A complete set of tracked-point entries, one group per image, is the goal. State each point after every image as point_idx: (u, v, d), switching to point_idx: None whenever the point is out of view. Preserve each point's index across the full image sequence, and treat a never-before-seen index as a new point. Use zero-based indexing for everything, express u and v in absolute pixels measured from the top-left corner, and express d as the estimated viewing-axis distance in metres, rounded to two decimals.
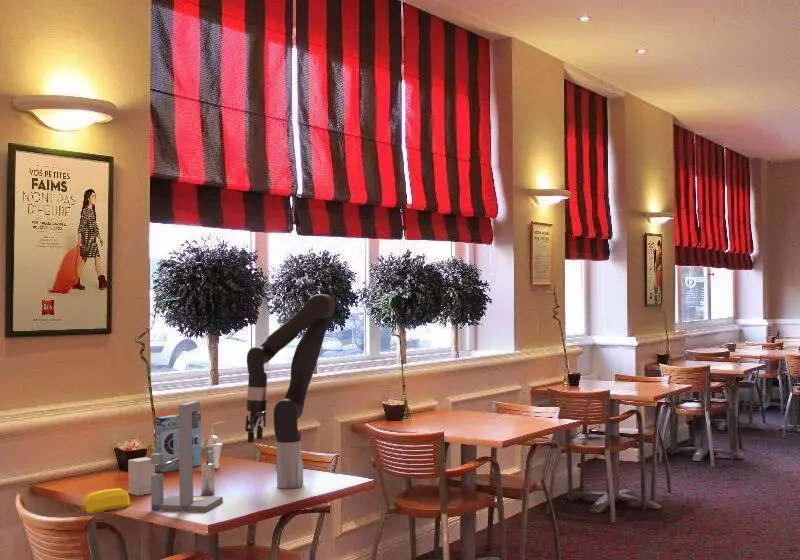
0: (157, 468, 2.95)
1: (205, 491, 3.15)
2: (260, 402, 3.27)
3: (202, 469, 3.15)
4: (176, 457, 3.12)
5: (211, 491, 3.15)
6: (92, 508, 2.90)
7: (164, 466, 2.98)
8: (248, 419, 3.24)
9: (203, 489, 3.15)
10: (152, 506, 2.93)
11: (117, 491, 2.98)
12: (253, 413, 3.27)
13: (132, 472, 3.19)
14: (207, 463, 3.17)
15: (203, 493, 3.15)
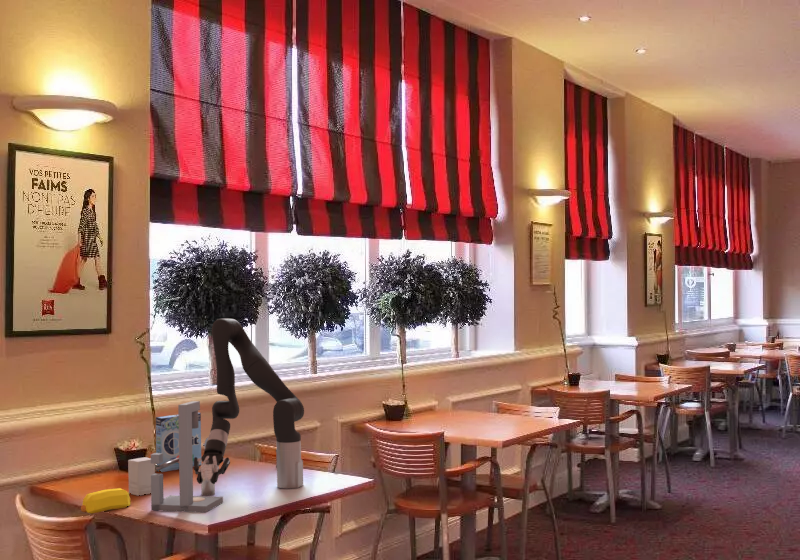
0: (157, 468, 2.95)
1: (205, 491, 3.15)
2: (207, 442, 3.25)
3: (202, 469, 3.15)
4: (176, 457, 3.12)
5: (211, 491, 3.15)
6: (92, 508, 2.90)
7: (164, 466, 2.98)
8: None
9: (203, 489, 3.15)
10: (152, 506, 2.93)
11: (117, 491, 2.98)
12: None
13: (132, 472, 3.19)
14: (207, 463, 3.17)
15: (203, 493, 3.15)
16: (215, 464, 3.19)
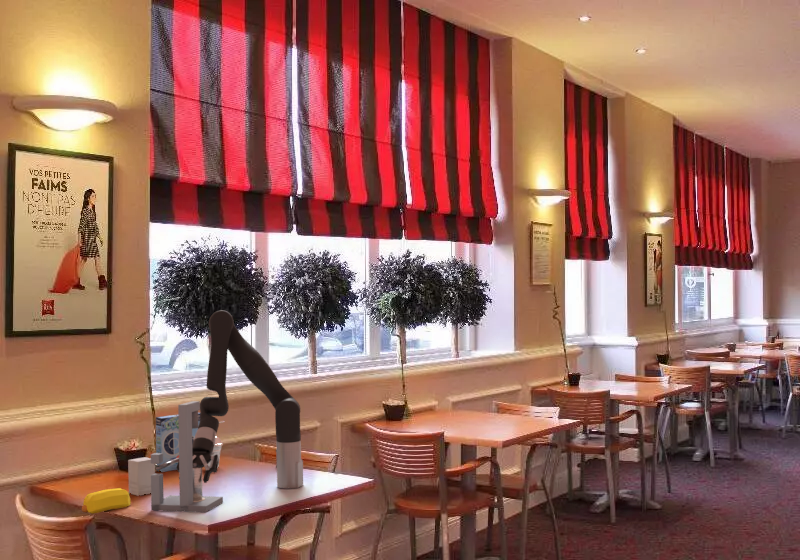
0: (157, 468, 2.95)
1: None
2: (194, 441, 3.08)
3: None
4: (176, 457, 3.12)
5: (198, 496, 2.98)
6: (93, 508, 2.90)
7: (164, 466, 2.98)
8: None
9: None
10: (152, 506, 2.93)
11: (118, 491, 2.98)
12: None
13: (132, 472, 3.19)
14: (194, 466, 2.99)
15: None
16: (205, 463, 3.01)
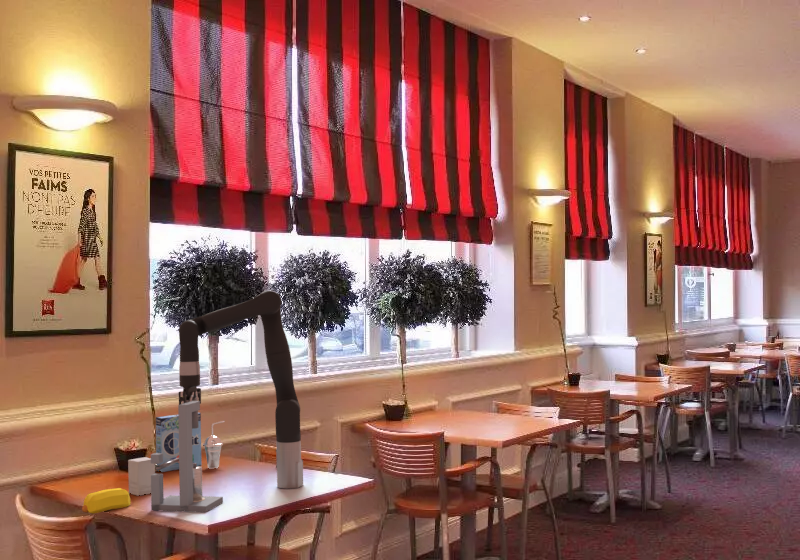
0: (157, 468, 2.95)
1: None
2: (193, 377, 3.19)
3: None
4: (176, 457, 3.12)
5: (198, 496, 2.98)
6: (93, 508, 2.90)
7: (164, 466, 2.98)
8: (181, 395, 3.15)
9: None
10: (152, 506, 2.93)
11: (118, 491, 2.98)
12: (186, 388, 3.18)
13: (132, 472, 3.19)
14: (194, 466, 2.99)
15: None
16: (197, 399, 3.24)
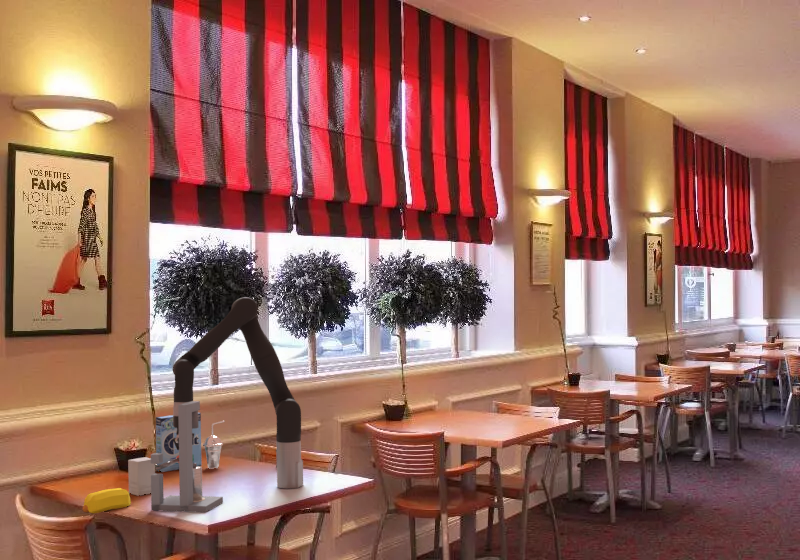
0: (157, 468, 2.95)
1: None
2: None
3: None
4: (176, 457, 3.12)
5: (198, 496, 2.98)
6: (94, 508, 2.90)
7: (164, 466, 2.98)
8: (176, 442, 3.11)
9: None
10: (152, 506, 2.93)
11: (118, 491, 2.98)
12: None
13: (132, 472, 3.19)
14: (194, 466, 2.99)
15: None
16: None
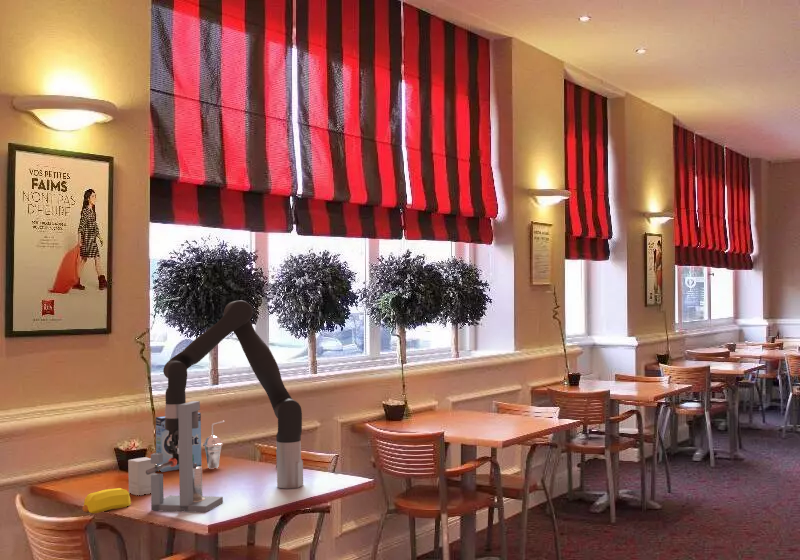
0: (148, 472, 2.89)
1: None
2: None
3: None
4: (168, 460, 3.06)
5: (198, 496, 2.98)
6: (94, 507, 2.90)
7: (155, 470, 2.92)
8: (168, 445, 3.04)
9: None
10: (152, 506, 2.93)
11: (118, 491, 2.98)
12: (172, 432, 3.06)
13: (132, 472, 3.19)
14: (194, 466, 2.99)
15: None
16: None
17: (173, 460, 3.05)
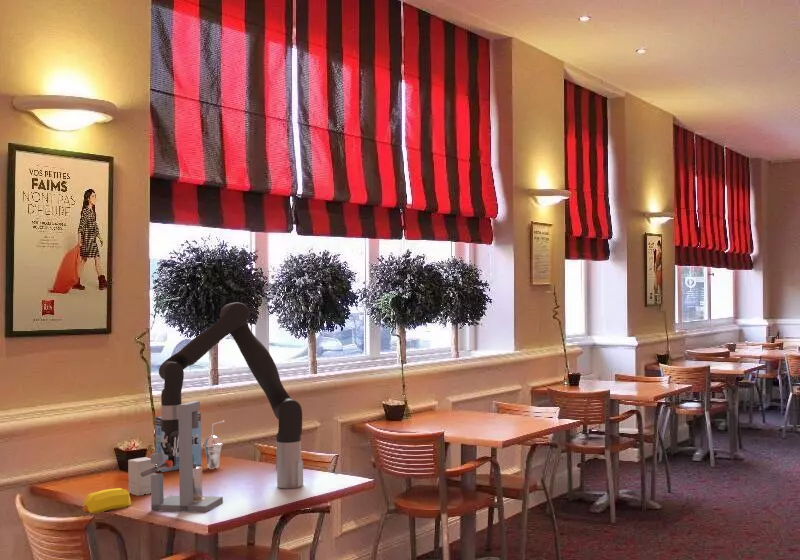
0: (143, 474, 2.85)
1: None
2: (174, 421, 3.04)
3: None
4: None
5: (198, 496, 2.98)
6: (94, 508, 2.90)
7: (150, 472, 2.89)
8: (164, 446, 3.01)
9: None
10: (152, 506, 2.93)
11: (118, 491, 2.98)
12: (167, 433, 3.03)
13: (132, 472, 3.19)
14: (194, 466, 2.99)
15: None
16: (177, 446, 3.07)
17: (169, 462, 3.02)
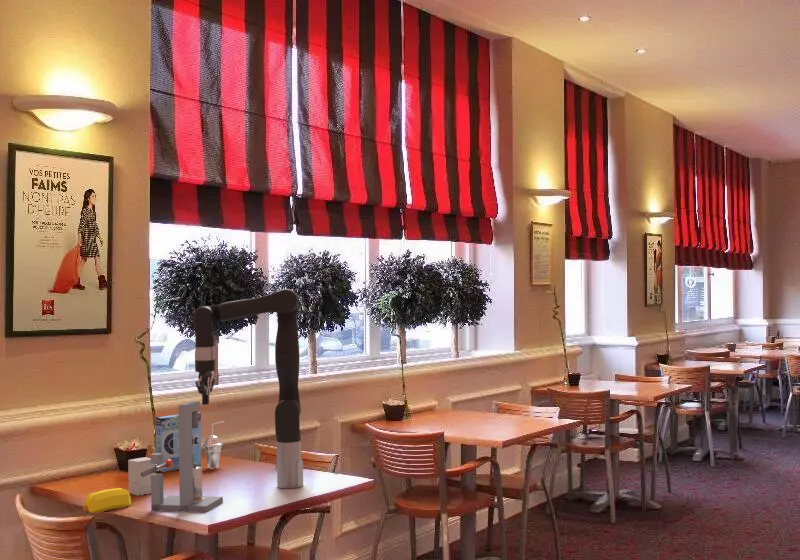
0: (143, 474, 2.85)
1: None
2: (208, 362, 3.24)
3: None
4: None
5: (198, 496, 2.98)
6: (94, 507, 2.90)
7: (150, 472, 2.89)
8: (198, 385, 3.21)
9: None
10: (152, 506, 2.93)
11: (119, 491, 2.98)
12: (201, 373, 3.23)
13: (132, 472, 3.19)
14: (194, 466, 2.99)
15: None
16: (210, 386, 3.27)
17: (168, 462, 3.02)
